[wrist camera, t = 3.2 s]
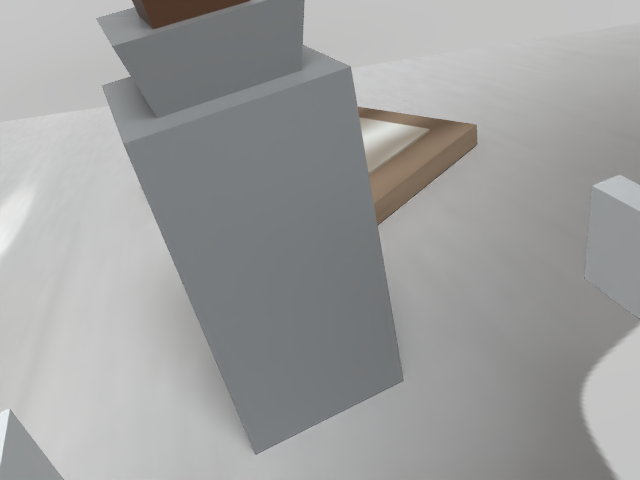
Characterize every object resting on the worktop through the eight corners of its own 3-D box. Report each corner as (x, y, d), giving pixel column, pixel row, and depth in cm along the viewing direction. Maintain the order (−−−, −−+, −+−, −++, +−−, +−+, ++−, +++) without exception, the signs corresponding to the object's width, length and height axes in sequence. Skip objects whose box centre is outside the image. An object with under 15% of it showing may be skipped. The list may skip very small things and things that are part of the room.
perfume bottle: (213, 350, 28) (43, -52, 18) (336, 296, 29) (242, -102, 19) (255, 454, 22) (43, -43, 12) (403, 380, 24) (320, -113, 14)
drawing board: (477, 144, 40) (476, 119, 39) (326, 266, 31) (319, 239, 30) (286, 110, 53) (282, 91, 52) (143, 191, 44) (134, 170, 43)
